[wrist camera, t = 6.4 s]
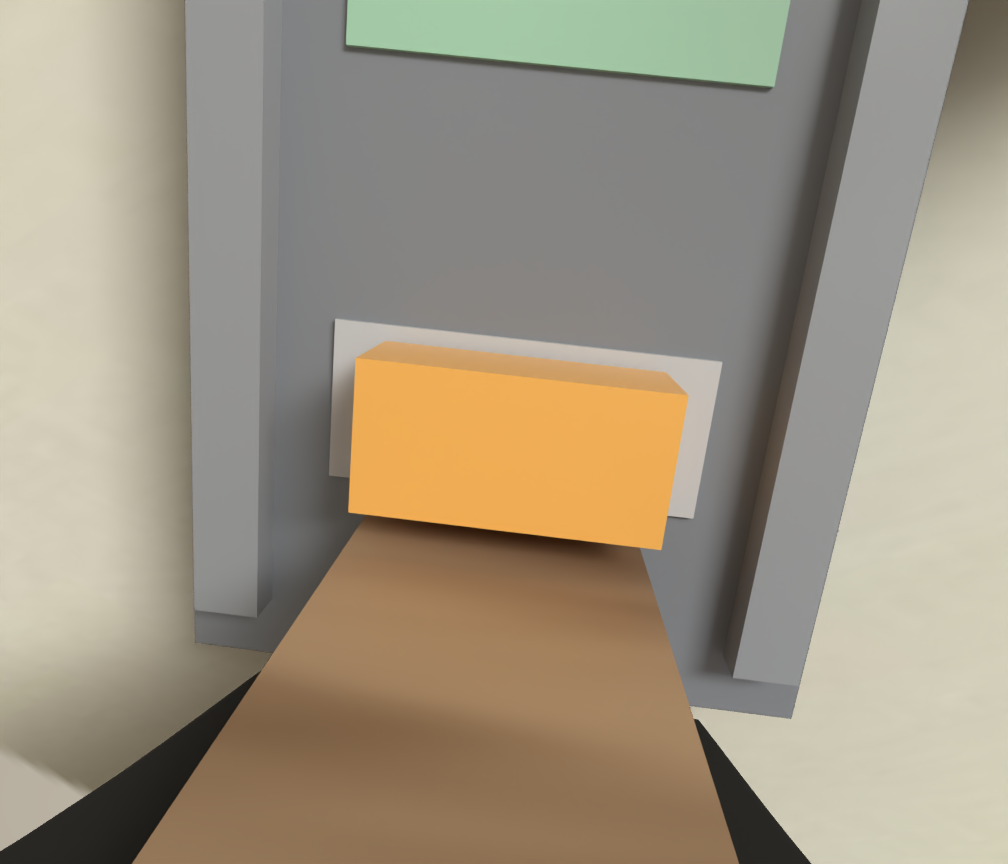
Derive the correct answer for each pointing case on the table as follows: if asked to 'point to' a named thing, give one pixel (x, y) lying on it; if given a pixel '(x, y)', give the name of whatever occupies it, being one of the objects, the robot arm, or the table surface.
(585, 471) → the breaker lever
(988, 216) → the table surface
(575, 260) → the grey railed tray
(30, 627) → the table surface
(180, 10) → the table surface
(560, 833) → the tan wooden post
